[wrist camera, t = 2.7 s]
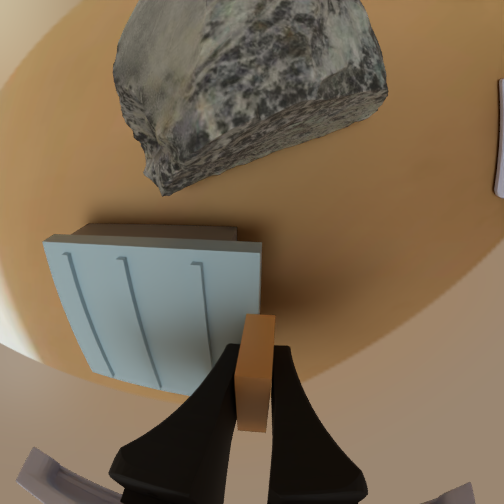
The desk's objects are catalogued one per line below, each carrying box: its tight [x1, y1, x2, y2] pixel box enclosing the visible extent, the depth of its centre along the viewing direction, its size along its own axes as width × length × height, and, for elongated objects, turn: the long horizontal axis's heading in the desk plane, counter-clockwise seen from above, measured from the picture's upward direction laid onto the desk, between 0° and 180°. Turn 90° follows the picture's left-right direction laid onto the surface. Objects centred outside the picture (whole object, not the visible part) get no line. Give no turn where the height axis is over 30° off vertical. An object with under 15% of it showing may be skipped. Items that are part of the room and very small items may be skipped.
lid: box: [43, 234, 275, 432], centre depth 12 cm, size 12×10×4 cm
